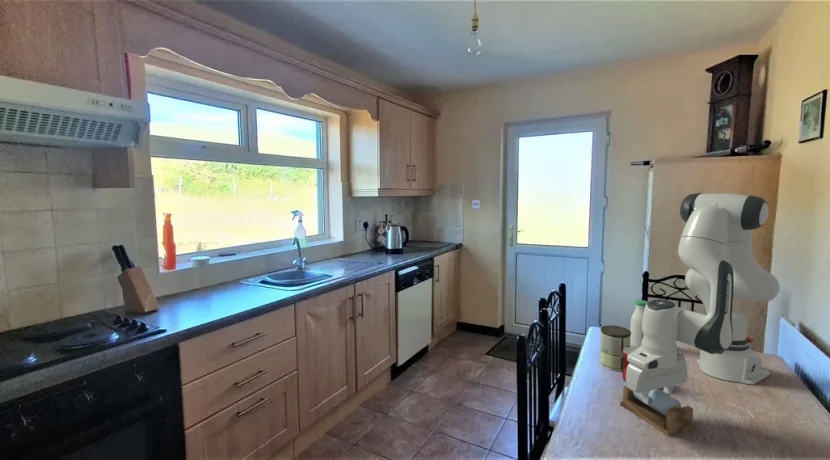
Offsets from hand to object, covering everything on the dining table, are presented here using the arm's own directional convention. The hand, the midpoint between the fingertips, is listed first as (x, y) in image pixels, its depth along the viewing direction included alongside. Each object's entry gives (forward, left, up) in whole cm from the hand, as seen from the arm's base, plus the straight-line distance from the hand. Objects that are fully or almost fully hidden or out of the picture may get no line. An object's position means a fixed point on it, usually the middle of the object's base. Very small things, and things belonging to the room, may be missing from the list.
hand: (656, 400), depth 112 cm
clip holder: (0, 0, -5) cm, 5 cm away
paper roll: (0, 0, -2) cm, 3 cm away
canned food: (-12, -18, -5) cm, 22 cm away
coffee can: (-15, -30, -5) cm, 34 cm away
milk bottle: (-39, -40, -5) cm, 56 cm away
